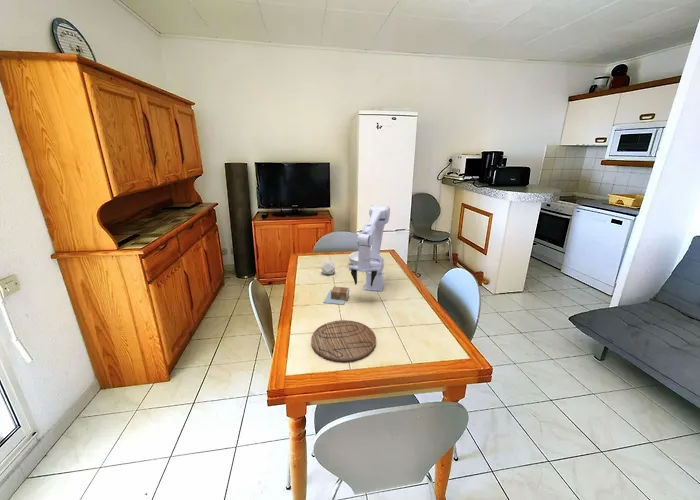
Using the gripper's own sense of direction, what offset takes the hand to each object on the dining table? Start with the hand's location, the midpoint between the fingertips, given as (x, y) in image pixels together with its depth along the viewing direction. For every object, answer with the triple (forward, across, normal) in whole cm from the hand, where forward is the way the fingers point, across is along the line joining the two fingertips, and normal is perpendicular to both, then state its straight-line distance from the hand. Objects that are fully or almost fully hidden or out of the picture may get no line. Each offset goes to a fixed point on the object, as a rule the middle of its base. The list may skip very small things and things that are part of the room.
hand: (363, 284), depth 147 cm
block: (+6, -8, 0) cm, 10 cm away
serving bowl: (+9, -5, +46) cm, 47 cm away
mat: (+8, -14, 0) cm, 16 cm away
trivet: (+9, -3, -35) cm, 36 cm away
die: (+9, -25, +29) cm, 39 cm away
